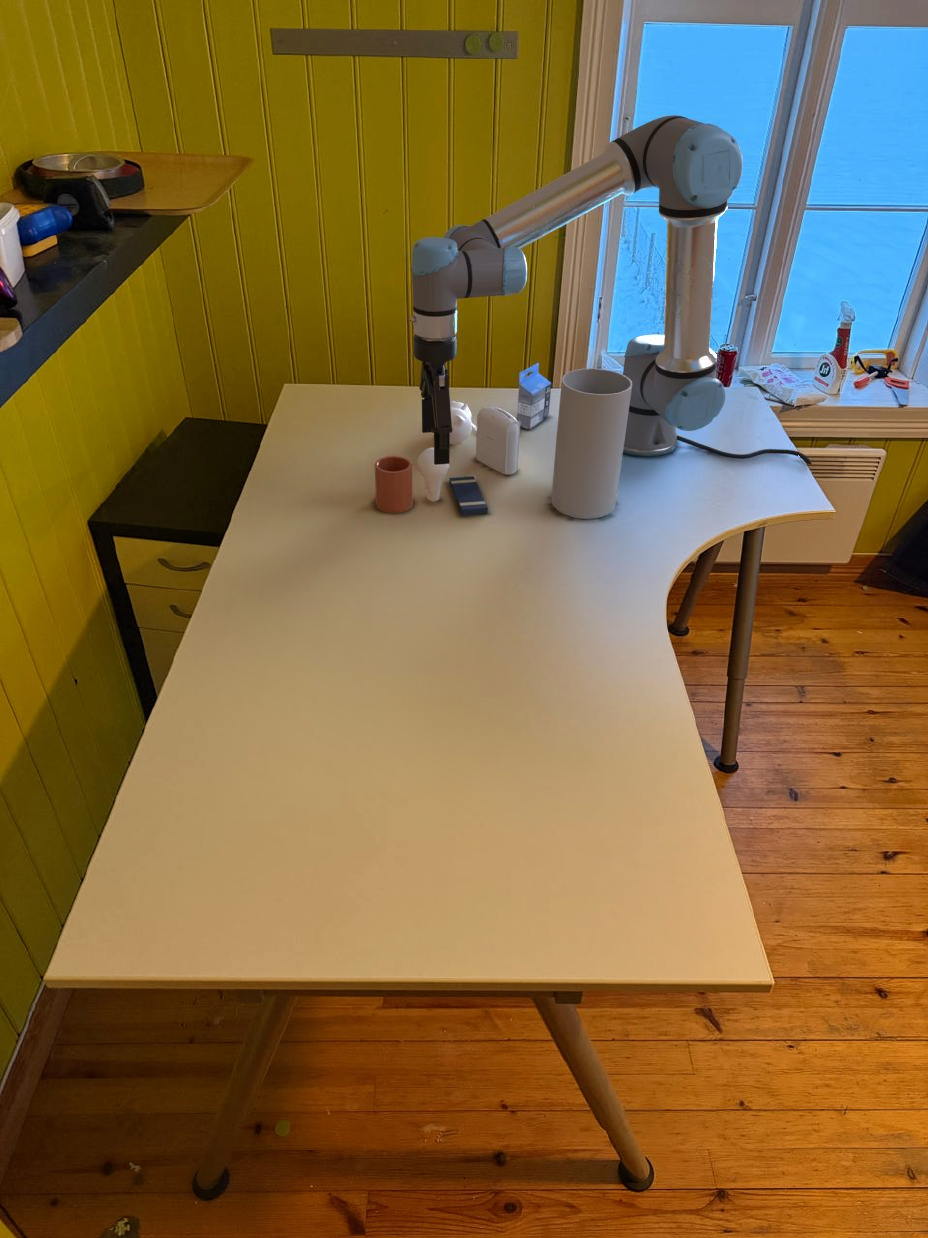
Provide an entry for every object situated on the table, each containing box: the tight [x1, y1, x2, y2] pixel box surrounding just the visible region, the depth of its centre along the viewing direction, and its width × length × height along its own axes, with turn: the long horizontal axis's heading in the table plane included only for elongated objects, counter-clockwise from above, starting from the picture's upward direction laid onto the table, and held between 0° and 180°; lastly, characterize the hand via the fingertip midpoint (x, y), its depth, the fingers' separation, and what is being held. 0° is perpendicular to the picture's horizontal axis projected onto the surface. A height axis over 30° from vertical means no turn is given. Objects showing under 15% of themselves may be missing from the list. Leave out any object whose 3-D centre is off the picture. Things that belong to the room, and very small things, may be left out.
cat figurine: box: [450, 399, 477, 445], centre depth 198 cm, size 9×11×12 cm
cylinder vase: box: [550, 367, 632, 520], centre depth 170 cm, size 12×12×25 cm
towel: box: [448, 475, 489, 517], centre depth 178 cm, size 5×13×1 cm, turn 11°
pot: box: [373, 455, 414, 514], centre depth 173 cm, size 7×7×8 cm
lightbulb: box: [416, 447, 451, 503], centre depth 174 cm, size 6×6×11 cm
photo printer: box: [475, 405, 521, 476], centre depth 186 cm, size 10×4×12 cm, turn 39°
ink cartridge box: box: [516, 362, 552, 430], centre depth 205 cm, size 9×4×12 cm, turn 147°
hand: (435, 447), depth 170 cm, fingers open, 13 cm apart
